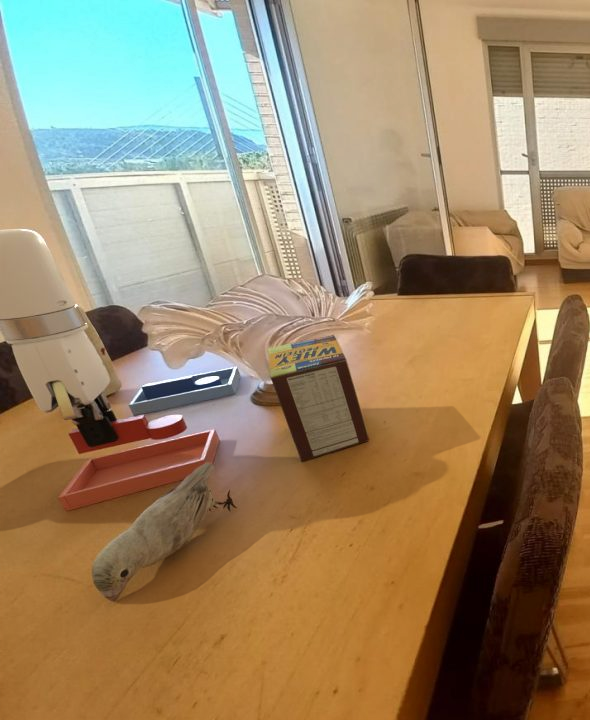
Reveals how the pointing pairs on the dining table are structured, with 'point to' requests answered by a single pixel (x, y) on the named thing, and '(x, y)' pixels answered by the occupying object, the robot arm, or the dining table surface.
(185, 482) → the decorative bird
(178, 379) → the blue spoon
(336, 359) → the protein box
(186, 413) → the dining table surface
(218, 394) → the blue tray
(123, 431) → the red spoon
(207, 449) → the red tray
